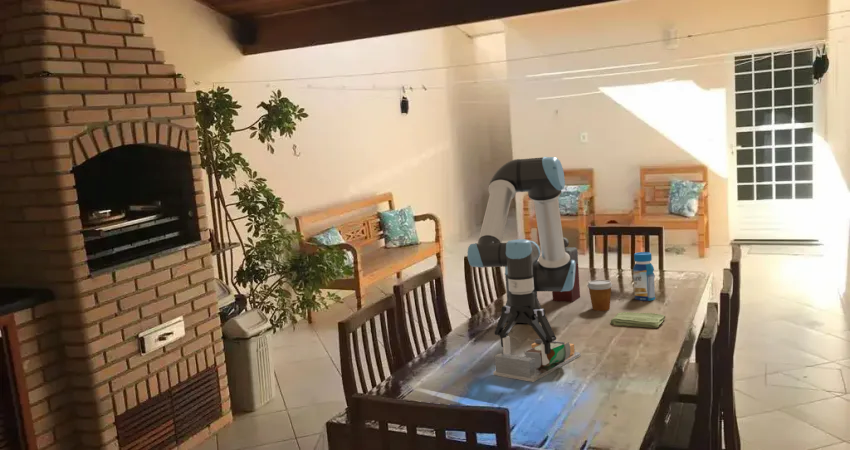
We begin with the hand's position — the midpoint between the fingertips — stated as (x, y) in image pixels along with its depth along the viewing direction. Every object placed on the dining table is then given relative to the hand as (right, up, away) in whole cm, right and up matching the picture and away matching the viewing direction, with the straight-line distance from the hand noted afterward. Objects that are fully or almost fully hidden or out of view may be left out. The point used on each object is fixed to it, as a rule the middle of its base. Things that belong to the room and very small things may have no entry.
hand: (526, 361), depth 209 cm
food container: (+2, 0, -1) cm, 3 cm away
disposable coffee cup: (+39, +6, +65) cm, 76 cm away
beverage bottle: (+60, +9, +76) cm, 98 cm away
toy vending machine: (+30, +8, +84) cm, 90 cm away
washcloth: (+47, +5, +45) cm, 65 cm away
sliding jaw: (+10, 0, +12) cm, 16 cm away
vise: (+4, -2, +5) cm, 7 cm away
